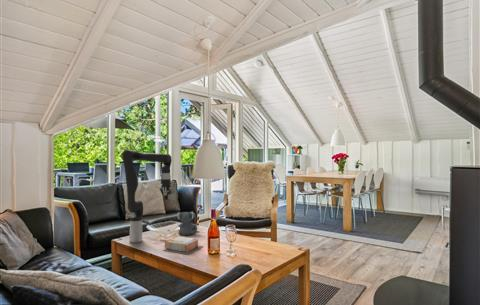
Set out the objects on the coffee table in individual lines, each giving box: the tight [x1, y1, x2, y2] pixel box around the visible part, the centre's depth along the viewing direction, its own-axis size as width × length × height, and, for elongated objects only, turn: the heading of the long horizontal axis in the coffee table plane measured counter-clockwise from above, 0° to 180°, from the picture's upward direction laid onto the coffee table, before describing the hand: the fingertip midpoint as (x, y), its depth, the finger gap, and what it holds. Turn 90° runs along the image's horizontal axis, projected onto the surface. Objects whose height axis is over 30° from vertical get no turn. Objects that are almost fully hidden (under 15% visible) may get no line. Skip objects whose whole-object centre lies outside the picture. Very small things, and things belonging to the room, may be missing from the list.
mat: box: [163, 245, 204, 256], centre depth 228 cm, size 22×20×1 cm
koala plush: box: [176, 211, 198, 236], centre depth 273 cm, size 17×18×20 cm
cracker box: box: [164, 236, 199, 252], centre depth 229 cm, size 14×6×21 cm
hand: (166, 199), depth 248 cm, fingers closed
